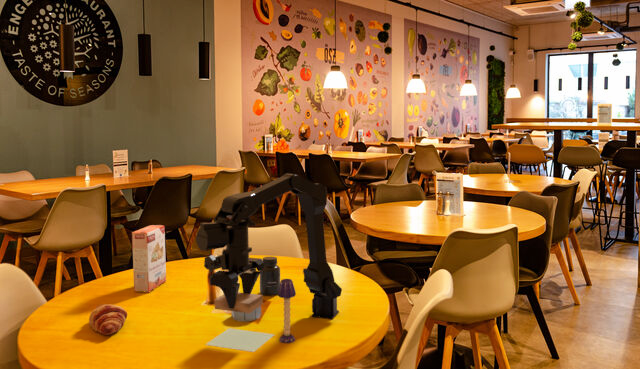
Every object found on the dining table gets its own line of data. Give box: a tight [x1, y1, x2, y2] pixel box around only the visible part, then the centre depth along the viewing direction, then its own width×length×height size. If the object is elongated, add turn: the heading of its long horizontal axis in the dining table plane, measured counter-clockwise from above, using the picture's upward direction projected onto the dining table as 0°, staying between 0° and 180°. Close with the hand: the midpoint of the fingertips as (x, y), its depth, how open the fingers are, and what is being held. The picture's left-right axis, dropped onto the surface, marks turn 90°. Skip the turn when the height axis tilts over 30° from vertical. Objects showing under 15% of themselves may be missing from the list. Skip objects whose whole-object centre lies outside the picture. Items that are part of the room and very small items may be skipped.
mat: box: [204, 327, 276, 353], centre depth 148 cm, size 14×12×1 cm
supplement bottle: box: [259, 256, 281, 297], centre depth 188 cm, size 7×7×12 cm
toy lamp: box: [277, 278, 297, 344], centre depth 146 cm, size 5×5×17 cm
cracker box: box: [131, 224, 167, 293], centre depth 196 cm, size 14×6×21 cm, turn 171°
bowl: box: [231, 305, 262, 322], centre depth 165 cm, size 8×8×4 cm
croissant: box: [88, 304, 128, 336], centre depth 160 cm, size 21×10×8 cm, turn 25°
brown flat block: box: [214, 291, 264, 313], centre depth 146 cm, size 10×7×2 cm
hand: (239, 303), depth 146 cm, fingers closed on brown flat block, 7 cm apart
